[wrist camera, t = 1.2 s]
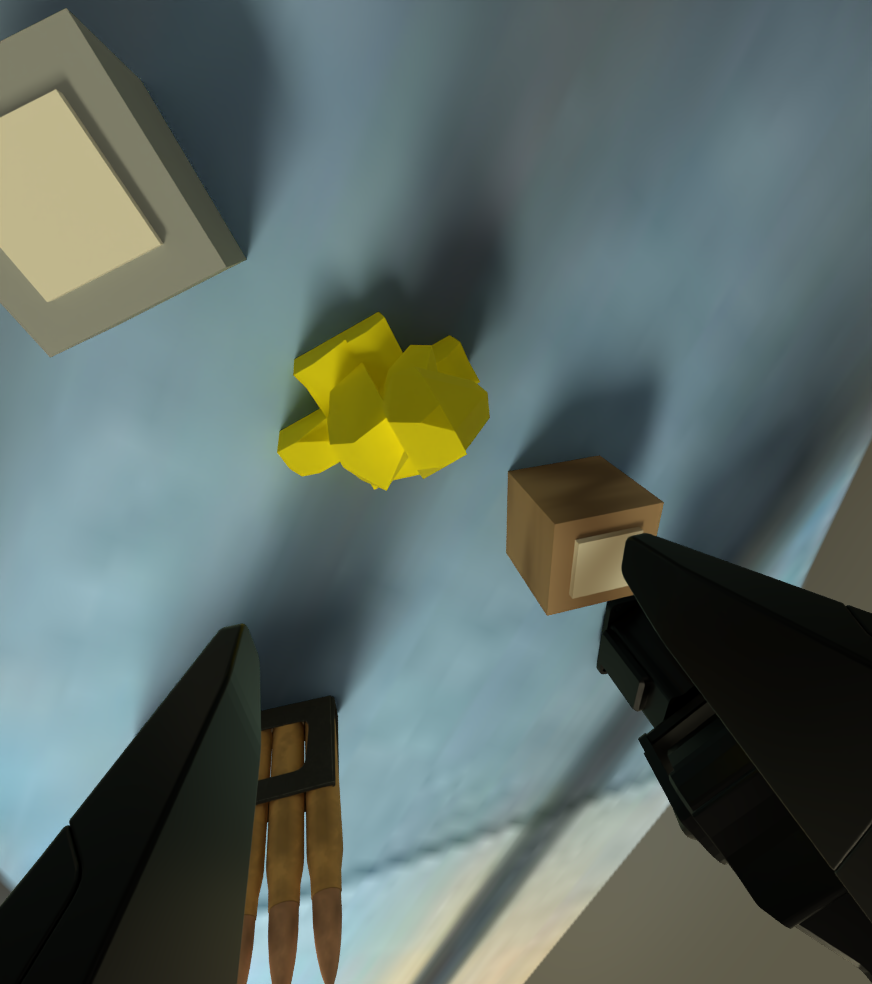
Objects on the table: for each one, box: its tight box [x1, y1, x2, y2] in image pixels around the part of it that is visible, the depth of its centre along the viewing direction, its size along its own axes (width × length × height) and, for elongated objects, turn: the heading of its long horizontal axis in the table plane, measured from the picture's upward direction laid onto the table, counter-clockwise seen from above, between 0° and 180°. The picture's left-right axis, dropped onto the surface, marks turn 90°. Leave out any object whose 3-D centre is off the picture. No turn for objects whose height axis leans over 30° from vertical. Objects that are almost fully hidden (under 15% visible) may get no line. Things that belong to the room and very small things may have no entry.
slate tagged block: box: [0, 8, 247, 357], centre depth 12 cm, size 5×5×5 cm
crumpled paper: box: [277, 312, 490, 491], centre depth 16 cm, size 6×8×8 cm
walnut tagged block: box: [506, 455, 664, 616], centre depth 22 cm, size 5×5×5 cm
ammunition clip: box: [237, 695, 343, 984], centre depth 21 cm, size 11×2×12 cm, turn 91°
